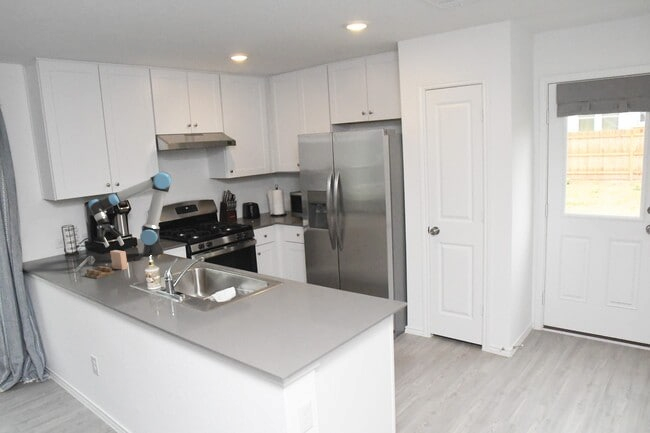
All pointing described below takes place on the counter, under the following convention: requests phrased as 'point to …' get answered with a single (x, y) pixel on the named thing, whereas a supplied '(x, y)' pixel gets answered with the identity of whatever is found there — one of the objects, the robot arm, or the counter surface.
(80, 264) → the bracket
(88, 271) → the rack
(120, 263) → the salmon pink square block
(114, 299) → the counter surface
